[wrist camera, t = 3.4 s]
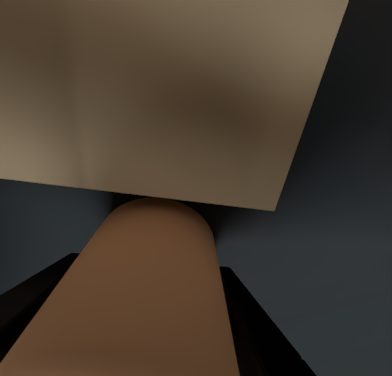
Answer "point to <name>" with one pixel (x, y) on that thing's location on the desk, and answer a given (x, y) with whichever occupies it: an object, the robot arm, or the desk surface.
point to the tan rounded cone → (134, 303)
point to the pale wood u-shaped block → (161, 94)
